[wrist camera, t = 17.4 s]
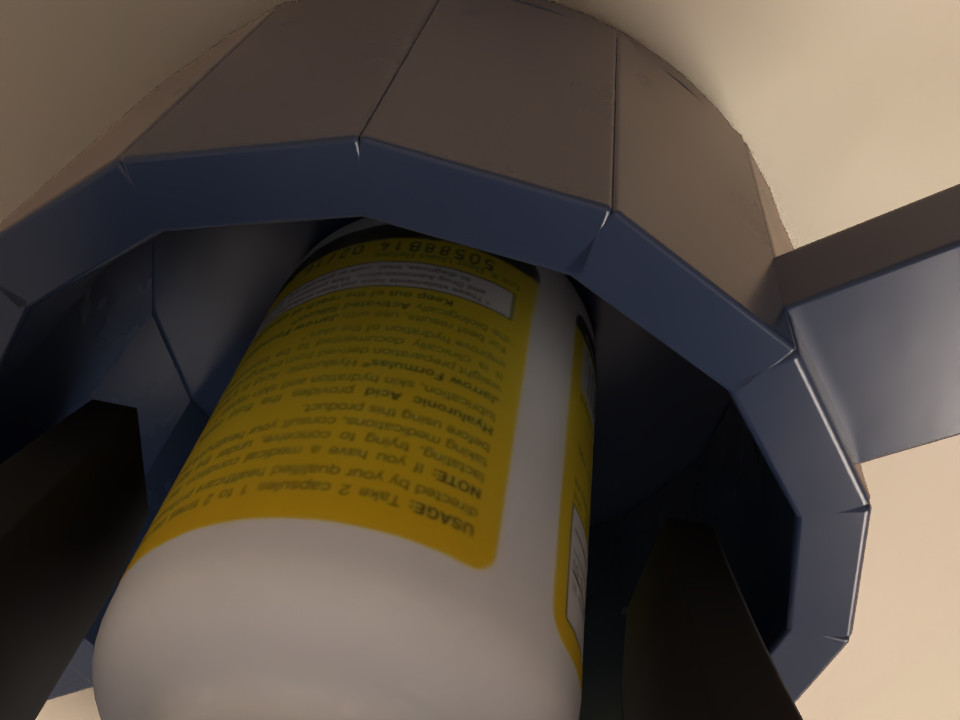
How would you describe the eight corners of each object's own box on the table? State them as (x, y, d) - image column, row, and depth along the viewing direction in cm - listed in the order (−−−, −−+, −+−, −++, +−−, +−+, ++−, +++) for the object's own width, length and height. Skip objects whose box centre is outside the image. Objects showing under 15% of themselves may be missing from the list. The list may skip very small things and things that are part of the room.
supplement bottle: (219, 303, 15) (-195, 939, 8) (462, 130, 13) (214, 815, 5) (421, 495, 18) (260, 1137, 10) (661, 380, 15) (697, 1116, 7)
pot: (1053, 400, 15) (1228, 696, 11) (281, 627, 22) (195, 863, 17) (821, -361, 9) (985, -395, 5) (-110, 260, 16) (-376, 469, 12)
